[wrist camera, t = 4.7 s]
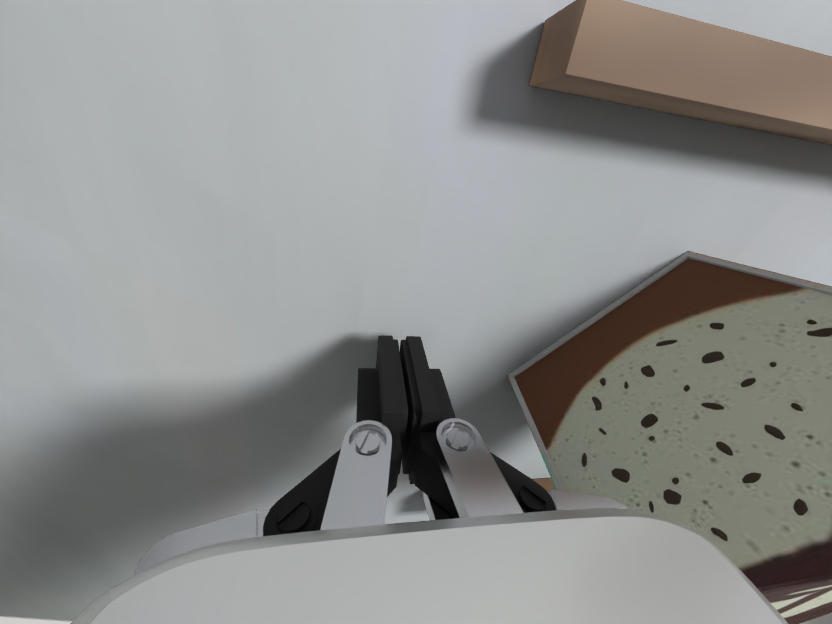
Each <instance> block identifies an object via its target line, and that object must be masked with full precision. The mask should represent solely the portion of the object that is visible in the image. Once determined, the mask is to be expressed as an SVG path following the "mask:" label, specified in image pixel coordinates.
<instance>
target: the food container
mask: <svg viewBox="0 0 832 624" xmlns="http://www.w3.org/2000/svg"><path fill="white" fill-rule="evenodd" d="M508 378H509V380H510V382H511V385H512V387H513V389H514V392H515V394H516V396H517V399H518V401H519V403H520V406H521V408H522V410H523V413H524V415H525V417H526V420H527V422H528V424H529V427H530V429H531V432H532V434H533V436H534V439H535V441H536V443H537V446H538V448H539V450H540V453H541V455H542V457H543V460H544V462H545V464H546V467H547V469H548V471H549V474H550V476H551V478H552V481H553V483H554V485H555V488H556V489H559V490H565V491H571V492H576V493H582V494H588V495H594V496H599V497H605V498H610V499H613V500H616V501H618V502H619V503H621V504H623V505H624V506H626V507H627V508H628V509H630V510H636V511H642V512H646V513H651V514H655V515H658V516H661V517H664V518H667V519H670V520H673V521H675V522H678V523H680V524H682V525H685V526H687V527H689V528H691V529H693V530H695V531H696V532H698V533H699V534H701V535H702V536H704V537H705V538H707V539H708V540H709V541H710V542H712V543H713V544H714V545H715V546H716V547H717V548H718V549H720V550H721V551H722V552H723V553H724V554H725V555H726V556H727V557H728V558H729V559H730V560H731V561H732V562H733V563H734V564H735V565H736V566H737V567H738V568H739V569H740V570H741V572H742V573H743V574H744V575H745V576H746V577H747V578H748V579H749V580H750V581H751V582H752V583H753V584H754V585H755V586H756V588H757V589H758V590H759V591H760V592H761V593H762V594H763V595H764V596H765V598H766V599H767V600H768V601H769V602H770V603H771V604H772V605H773V606H774V608H775V609H776V610H777V611H778V612H779V613H780V614H781V616H782V617H783V618H784V619H785V620H786V621H787V623H788V624H832V287H831V286H827V285H823V284H819V283H815V282H811V281H807V280H803V279H799V278H795V277H791V276H787V275H783V274H779V273H775V272H771V271H767V270H763V269H758V268H754V267H750V266H746V265H742V264H738V263H734V262H730V261H726V260H722V259H718V258H714V257H710V256H706V255H702V254H698V253H694V252H690V251H687V252H686V253H684V254H683V255H681V256H680V257H678V258H677V259H676V260H674V261H673V262H671V263H670V264H668V265H667V266H665V267H664V268H662V269H661V270H660V271H658V272H657V273H655V274H654V275H652V276H651V277H649V278H648V279H646V280H645V281H644V282H642V283H641V284H639V285H638V286H636V287H635V288H633V289H632V290H630V291H629V292H628V293H626V294H625V295H623V296H622V297H620V298H619V299H617V300H616V301H614V302H613V303H612V304H610V305H609V306H607V307H606V308H604V309H603V310H601V311H600V312H598V313H597V314H596V315H594V316H593V317H591V318H590V319H588V320H587V321H585V322H584V323H582V324H581V325H580V326H578V327H577V328H575V329H574V330H572V331H571V332H569V333H568V334H566V335H565V336H564V337H562V338H561V339H559V340H558V341H556V342H555V343H553V344H552V345H550V346H549V347H548V348H546V349H545V350H543V351H542V352H540V353H539V354H537V355H536V356H534V357H533V358H532V359H530V360H529V361H527V362H526V363H524V364H523V365H521V366H520V367H518V368H517V369H516V370H514V371H513V372H511V373H510V374H508Z"/></svg>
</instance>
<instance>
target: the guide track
mask: <svg viewBox="0 0 832 624" xmlns="http://www.w3.org/2000/svg"><path fill="white" fill-rule="evenodd" d="M529 86H534V87H539V88H544V89H549V90H554V91H559V92H565V93H570V94H575V95H580V96H585V97H590V98H595V99H600V100H605V101H610V102H616V103H621V104H626V105H631V106H636V107H641V108H646V109H651V110H656V111H661V112H667V113H672V114H677V115H682V116H687V117H692V118H697V119H702V120H707V121H712V122H717V123H723V124H728V125H733V126H738V127H743V128H748V129H753V130H758V131H763V132H768V133H774V134H779V135H784V136H789V137H794V138H799V139H804V140H809V141H814V142H819V143H825V144H830V145H832V57H831V56H828V55H824V54H820V53H816V52H813V51H809V50H805V49H802V48H798V47H794V46H790V45H787V44H783V43H779V42H775V41H772V40H768V39H764V38H760V37H757V36H753V35H749V34H745V33H742V32H738V31H734V30H730V29H727V28H723V27H719V26H715V25H712V24H708V23H704V22H701V21H697V20H693V19H689V18H686V17H682V16H678V15H674V14H671V13H667V12H663V11H659V10H656V9H652V8H648V7H644V6H641V5H637V4H633V3H629V2H626V1H622V0H576V1H574V2H573V3H571V4H570V5H568V6H567V7H565V8H564V9H562V10H561V11H559V12H557V13H556V14H554V15H553V16H551V17H550V18H548V19H547V20H545V23H544V27H543V31H542V35H541V39H540V43H539V47H538V51H537V55H536V59H535V63H534V67H533V71H532V76H531V80H530V84H529ZM532 480H534V481H535V482H537V483H538V484H540V485H541V486H542V487H543V488H544V489H546V491H551V489H552V488H553V489H556V488H555V485H554V483H553V481H552V478H546V479H532Z"/></svg>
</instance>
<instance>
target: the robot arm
mask: <svg viewBox="0 0 832 624" xmlns="http://www.w3.org/2000/svg"><path fill="white" fill-rule="evenodd" d="M401 460H402V466H403V473H404V474H409V480H410V484H415V486H416V487H418V488H419V489H420V490H421V491H423V499H424V503H425V506H426V509H427V513H428V516H429V519H430V521H419V522H408V523H396V524H385V513H386V502H387V497H388V495H389V494H390V493H391V492H392V491H393V490H394V489H395V487H396V484H397V478H398V475H399V473H400V467H401ZM384 524H385V525H384ZM71 624H788V623H787V621H786V620H785V619H784V618H783V617H782V616H781V614H780V613H779V612H778V611H777V610H776V609H775V608H774V606H773V605H772V604H771V603H770V602H769V601H768V600H767V599H766V598H765V596H764V595H763V594H762V593H761V592H760V591H759V590H758V589H757V588H756V586H755V585H754V584H753V583H752V582H751V581H750V580H749V579H748V578H747V577H746V576H745V575H744V574H743V573H742V572H741V570H740V569H739V568H738V567H737V566H736V565H735V564H734V563H733V562H732V561H731V560H730V559H729V558H728V557H727V556H726V555H725V554H724V553H723V552H722V551H721V550H720V549H718V548H717V547H716V546H715V545H714V544H713V543H712V542H710V541H709V540H708V539H707V538H705V537H704V536H702V535H701V534H699V533H698V532H696V531H695V530H693V529H691V528H689V527H687V526H685V525H682V524H680V523H678V522H675V521H673V520H670V519H667V518H664V517H661V516H658V515H655V514H651V513H646V512H642V511H636V510H630V509H628V508H627V507H626V506H624V505H623V504H621V503H619V502H618V501H616V500H613V499H610V498H605V497H599V496H594V495H588V494H582V493H576V492H571V491H565V490H559V489H553V488H552V489H551V491H546V489H544V488H543V487H542V486H541V485H540V484H538V483H537V482H535V481H534V480H532V479H531V478H529V477H528V476H526V475H524V474H523V473H521V472H520V471H518V470H517V469H515V468H514V467H512V466H511V465H509V464H508V463H506V462H504V461H503V460H501V459H500V458H498V457H497V456H495V455H494V454H492V453H491V452H490V451H489V450H488V448H487V446H486V444H485V442H484V441H483V439H482V437H481V435H480V433H479V432H478V431H477V429H476V428H475V427H474V426H473V425H472V424H470V423H469V422H467V421H465V420H462V419H458V418H455V415H454V411H453V408H452V405H451V402H450V399H449V396H448V392H447V389H446V386H445V383H444V380H443V377H442V373H441V371H440V369H429V366H428V363H427V359H426V355H425V351H424V348H423V344H422V340H421V337H414V336H407V337H406V340H401V345H400V352H399V345H398V340H393V337H392V336H378V348H377V361H376V368H358V392H357V419H356V424H354V425H352V426H351V427H350V428H349V429H348V430H347V432H346V434H345V436H344V440H343V443H342V447H341V449H340V450H339V451H338V452H336V453H335V454H334V455H333V456H332V457H330V458H329V459H328V460H327V461H326V462H324V463H323V464H322V465H321V466H319V467H318V468H317V469H316V470H315V471H313V472H312V473H311V474H310V475H309V476H307V477H306V478H305V479H304V480H303V481H301V482H300V483H299V484H298V485H297V486H295V487H294V488H293V489H292V490H291V491H289V492H288V493H287V494H286V495H284V496H283V497H282V498H281V499H280V500H278V501H277V502H276V503H275V505H274V506H273V507H272V508H271V509H268V510H265V511H262V512H258V513H257V509H255V510H252V511H248V512H245V513H241V514H238V515H234V516H231V517H228V518H224V519H221V520H217V521H214V522H210V523H207V524H203V525H200V526H196V527H193V528H190V529H186V530H183V531H179V532H176V533H173V534H171V535H169V536H167V537H164V538H162V539H161V540H160V541H158V542H157V543H156V544H154V545H153V546H152V547H151V548H150V549H149V550H148V551H147V552H146V553H145V555H144V556H143V557H142V558H141V560H140V562H139V564H138V566H137V568H136V570H135V572H134V575H133V576H131V577H129V578H128V579H126V580H124V581H123V582H121V583H119V584H118V585H116V586H114V587H113V588H111V589H110V590H108V591H107V592H106V593H104V594H103V595H101V596H100V597H98V598H97V599H96V600H95V601H94V602H92V603H91V604H90V605H89V606H88V607H87V608H86V609H85V610H84V611H83V612H82V613H81V614H79V615H78V616H77V617H76V618H75V619H74V620H73V622H72V623H71Z"/></svg>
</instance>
